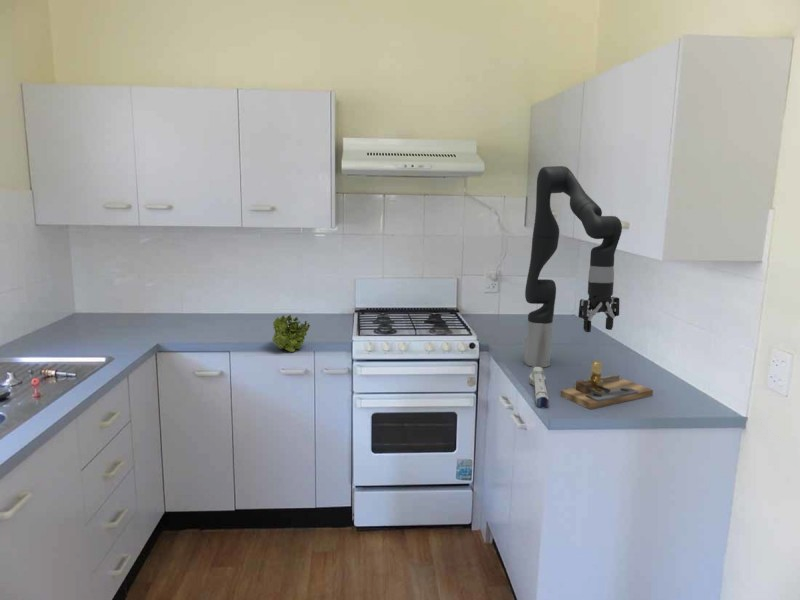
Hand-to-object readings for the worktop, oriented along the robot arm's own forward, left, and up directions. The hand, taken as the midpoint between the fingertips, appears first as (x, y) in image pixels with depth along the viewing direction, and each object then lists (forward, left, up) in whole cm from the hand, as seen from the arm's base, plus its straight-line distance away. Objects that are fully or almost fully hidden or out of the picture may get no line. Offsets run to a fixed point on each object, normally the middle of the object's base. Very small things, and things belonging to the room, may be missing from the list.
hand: (598, 330), depth 180 cm
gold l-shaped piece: (0, +3, -20) cm, 21 cm away
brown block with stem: (0, -2, -21) cm, 21 cm away
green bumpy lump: (-96, -72, -23) cm, 122 cm away
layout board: (+1, +6, -23) cm, 23 cm away
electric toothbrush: (-11, -13, -23) cm, 29 cm away
